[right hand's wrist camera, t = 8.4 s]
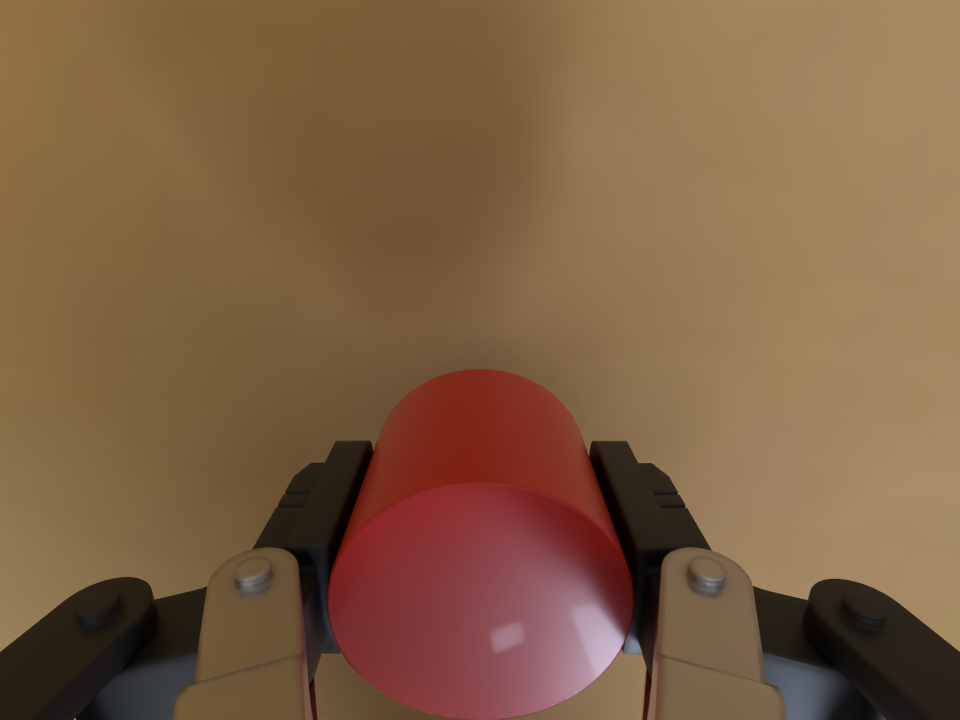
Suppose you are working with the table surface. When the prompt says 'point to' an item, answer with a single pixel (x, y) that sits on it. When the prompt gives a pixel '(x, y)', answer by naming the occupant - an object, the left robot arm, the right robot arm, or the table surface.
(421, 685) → the red solid cylinder
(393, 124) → the table surface
